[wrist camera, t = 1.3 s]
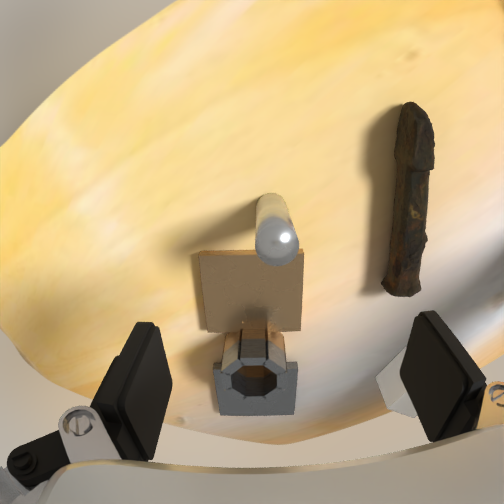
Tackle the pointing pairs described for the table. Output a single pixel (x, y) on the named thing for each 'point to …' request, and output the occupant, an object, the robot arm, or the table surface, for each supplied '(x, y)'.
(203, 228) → the table surface
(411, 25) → the table surface
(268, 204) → the hinge pin
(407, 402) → the light grey cube
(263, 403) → the hinge
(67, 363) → the table surface
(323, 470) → the robot arm
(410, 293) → the hand tool
